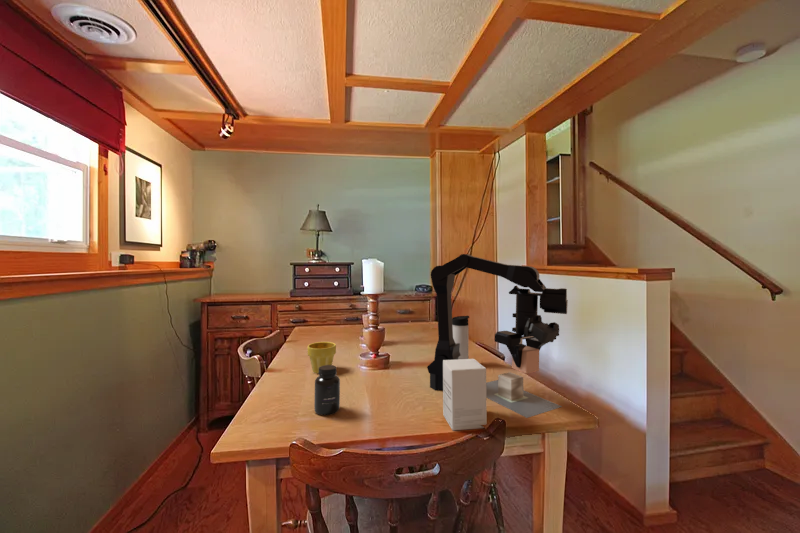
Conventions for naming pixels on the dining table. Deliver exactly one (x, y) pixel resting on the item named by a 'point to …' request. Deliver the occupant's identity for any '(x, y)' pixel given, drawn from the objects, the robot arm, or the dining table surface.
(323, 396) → the supplement bottle
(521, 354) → the robot arm
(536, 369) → the terracotta block
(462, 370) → the supplement box
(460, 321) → the travel mug
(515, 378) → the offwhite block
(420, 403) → the dining table surface
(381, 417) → the dining table surface
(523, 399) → the build board
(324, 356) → the plant pot
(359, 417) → the dining table surface
